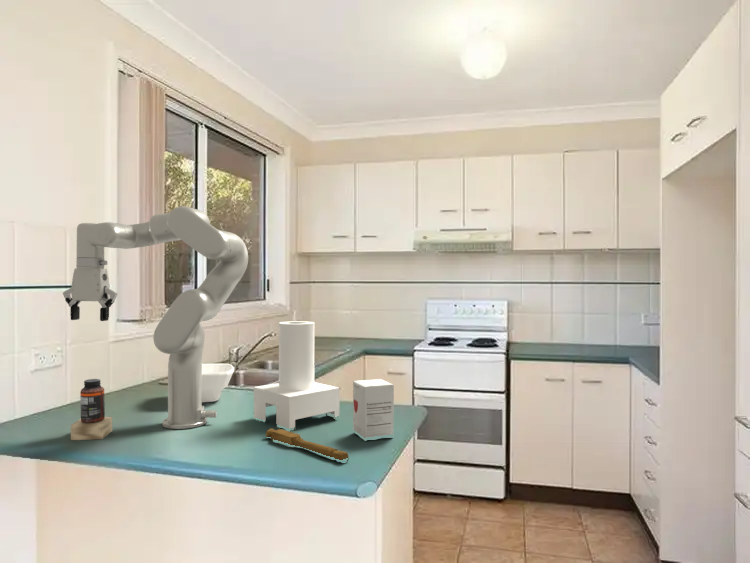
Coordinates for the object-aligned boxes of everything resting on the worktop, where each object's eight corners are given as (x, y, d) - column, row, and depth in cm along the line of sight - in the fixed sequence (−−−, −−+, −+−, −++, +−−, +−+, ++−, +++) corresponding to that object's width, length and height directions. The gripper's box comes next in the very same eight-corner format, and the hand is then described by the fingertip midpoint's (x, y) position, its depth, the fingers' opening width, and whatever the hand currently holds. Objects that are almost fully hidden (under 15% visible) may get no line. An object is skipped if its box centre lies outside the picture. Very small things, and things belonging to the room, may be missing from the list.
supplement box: (351, 433, 156) (352, 380, 156) (380, 429, 160) (381, 378, 159) (363, 442, 148) (364, 386, 147) (394, 438, 151) (394, 383, 151)
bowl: (164, 410, 181) (164, 375, 181) (172, 396, 203) (172, 364, 202) (233, 407, 186) (233, 372, 186) (234, 393, 208) (234, 362, 208)
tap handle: (340, 453, 130) (263, 428, 150) (340, 466, 130) (263, 439, 150) (349, 450, 132) (272, 426, 152) (349, 463, 132) (272, 437, 152)
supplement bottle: (98, 416, 157) (98, 377, 157) (108, 420, 153) (108, 379, 153) (76, 421, 152) (76, 380, 152) (86, 424, 148) (86, 382, 148)
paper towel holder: (302, 409, 184) (302, 319, 183) (339, 420, 170) (339, 322, 170) (253, 419, 170) (254, 322, 170) (289, 431, 157) (289, 326, 157)
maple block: (112, 430, 157) (112, 416, 157) (102, 439, 149) (102, 424, 149) (82, 431, 156) (82, 417, 156) (70, 440, 148) (70, 425, 148)
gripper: (123, 264, 170) (123, 320, 171) (72, 263, 173) (72, 318, 173) (109, 264, 163) (108, 322, 163) (55, 263, 165) (55, 320, 166)
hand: (89, 320), depth 168 cm, fingers open, 9 cm apart
